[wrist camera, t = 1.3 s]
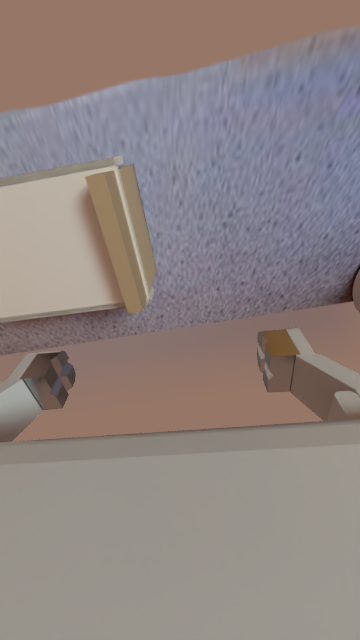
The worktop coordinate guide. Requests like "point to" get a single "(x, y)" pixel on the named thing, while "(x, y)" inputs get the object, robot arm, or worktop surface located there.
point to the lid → (68, 243)
